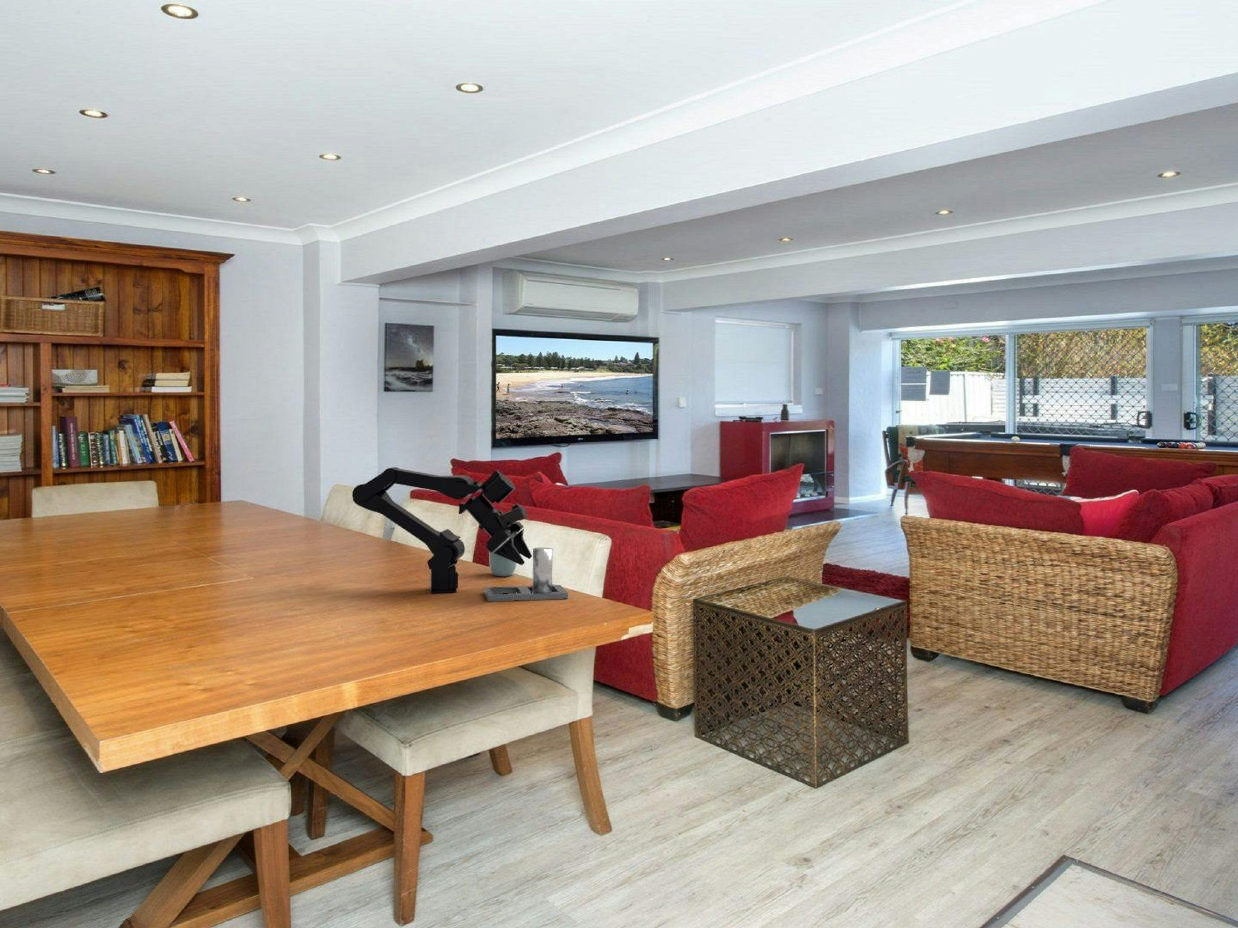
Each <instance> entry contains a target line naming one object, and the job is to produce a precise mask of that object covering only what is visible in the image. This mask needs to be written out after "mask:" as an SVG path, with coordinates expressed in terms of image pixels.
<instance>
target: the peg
mask: <svg viewBox="0 0 1238 928" xmlns="http://www.w3.org/2000/svg"><path fill="white" fill-rule="evenodd" d="M553 551H554V549H553V548H552V547H546V546H545V547H542V546H541V547H539V546H538V547H534V548H532V585H531V586H532V593H545V592H552V585H553V553H554V552H553Z"/></svg>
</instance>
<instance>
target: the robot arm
mask: <svg viewBox="0 0 1238 928" xmlns="http://www.w3.org/2000/svg"><path fill="white" fill-rule="evenodd" d="M394 485H401V486H407V487H411V488H412V487H413V488H417V489H423V490H424V489H425V490H429V491H434V492H437V493H440V494H441V495H444V496H445V497H448V498H451V499H453V500H459V501H460V500H463V499H466V498H468V497H469V498H468V499H467V500H466V501H465V502H459V503H458V507H459V508H458V514H459V515H462V514H464V513H466V512H467V513H469V514H470V516H472V518H473V519H474V520H475V521H476V522H477V523H478V525H480V526H478V528H479V529H480V530H481V531H483V530H484V532H486V533H487V534H488V536H489V537H490V538H489V539H488V540H487V541H486V542H485V543H486V545H485V546H486V547H485V548H486V549H487V551H488V552H489V551H490V552H491V553H492V552H493V551H494V550H495V549H496V548H497V549H498V550H496V551H495V552H494V554H497V555H499V556H502V557H504V558H506V559H509V560H511V561H513V562H515V563H516V565H517V564H518V565H520V566H523V565H524V564H525V563H526V562H525V560H524V559H523V557H525V558H527V559H528V560H529V559H531V558H533V554H532V553H531V551H530V549H529V547H528V545H527V543H526V542H525V539H524V532H525V529H524V528H525V527H524V525H523V524H522V522H520V521H523V520H525V519H527V518H529V517H528V513H527V508H526V507H524V505H521V504H520V503H516V504H514V505H512V506H511V510H508V511H506V512H504V511H503V510H501V509H498V510H497V508H496V507H495V506H494V505H493V504H495V503H496V504H501V503H502V502H503V501H504V500H505V499H506V498H507V497H508V496H510V494H511V493H513V491H515V490H516V486H515V483H513V482H512V480H511V479H510V478H509V477H507V476H506V475H504V474H503V473H501V472H500V470H498V469H497V470H495V471H494V472H492V474H491V475H490V476H489V477H488V478H487V479H486V480H485V481H484V482H482V481H481V482H480V481H475V480H473V478H472V477H470V476H468V475H465V474H464V475H461V474H460V475H457V474H455V475H454V474H453V475H438V474H431V473H426V472H425V473H424V472H421V471H415V470H408V469H403V468H400V467H396V466H393V467H392V466H391V467H388V468H386V469H385V470H383V471H382V472H381V473H380V474H378V475H376V476H375V477H374V478H372V479H370V480H369V481H367V482H365V483H361V484H358V485H356V486H355V487H354V489H353V491H352V501H353V503H355V504H356V506H359V507H361V508H364V509H366V510H367V511H371V512H374V513H377V514H380V515H382V516H384V517H385V518H387V519H388V520H389V521H391V522H393V523H394V524H396V526H398V527H400V528H401V529H403V530H404V531H406V532H407V533H409V534H411V536H413V537H414V538H416V539H417V540H420V542H422V543H423V544H425V545H426V546H427V549H428V550H429V552H430V553H431V554H433V556H431V557H430V558H429V559H428V560H427V561H426V563H427V566H428V569H429V570H430V577H429V578H430V585H429V590H430V593H432V594H436V593H437V594H439V593H457V589H459V572H458V571H457V567H456V565H457V564H458V561H459V559H460V558H462V557H463V556H464V554H465V551H466V549H465V548H466V547H465V543H464V542H463V541H462V540H461V536H459V535H457V534H454V532H452V531H451V530H450V529H448V528H446V529H444V530H443V531H439V530H436V529H435V528H433V527H432V526H430V525H429V524H427V523H426V522H425V521H423V520H422V519H420V518H419V517H417V516H416V515H415V514H413V513H412V512H410V511H408V510H407V509H406V508H404V507H403V506H401V505H400V504H398V503H396V502H395V501H394V500H393V499H392V498H391V496H390V494H389V493H388V492H387V491H389V490H390V489H391V488H392V487H393V486H394ZM479 492H480V493H479ZM477 493H479V494H478V495H477V496H474V494H477Z"/></svg>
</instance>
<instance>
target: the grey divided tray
mask: <svg viewBox="0 0 1238 928" xmlns="http://www.w3.org/2000/svg"><path fill="white" fill-rule="evenodd" d="M516 592H517V593H516ZM531 592H532V585H518V586H517V585H516V586H512V585H511V586H484V587H483V594H485V595H484V597H485V598H486V600H487V602H488V601H489V602H490V601H495V602H515V601H514V600H523V601H545V600H547V599H548V600H549V599H551V600H567V599H569V593H568V592H567V590H566V589H564V587H563V586H562V585H561V584H552V592H545V593H531ZM503 593H508V594H503ZM564 598H566V599H564ZM548 600H547V601H548ZM489 602H488V603H489Z"/></svg>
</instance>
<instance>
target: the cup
mask: <svg viewBox="0 0 1238 928" xmlns="http://www.w3.org/2000/svg"><path fill="white" fill-rule="evenodd" d="M496 550H498V549H497V548H496V549H495V550H494V551H493V552H492V553H491V552H490V551H489V550H488V556H489V557H488V558H489V559H488V561H489V568H490V571H491V573H492V574H493V575H495V576H496V575H497V577H509V576H511V575H513V574H514V573H515V571H516V567H517V563H515V562H513V561H511V560H509V559H506V558H504V557H502V556H499V555H497V554H494V552H495V551H496Z"/></svg>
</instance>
